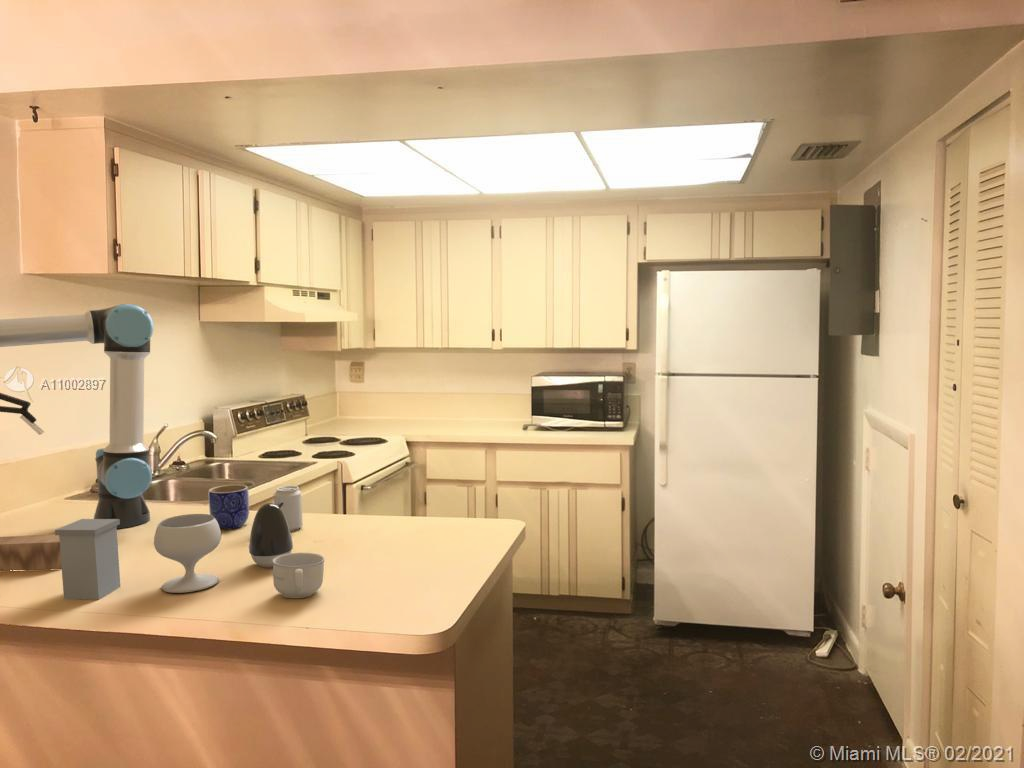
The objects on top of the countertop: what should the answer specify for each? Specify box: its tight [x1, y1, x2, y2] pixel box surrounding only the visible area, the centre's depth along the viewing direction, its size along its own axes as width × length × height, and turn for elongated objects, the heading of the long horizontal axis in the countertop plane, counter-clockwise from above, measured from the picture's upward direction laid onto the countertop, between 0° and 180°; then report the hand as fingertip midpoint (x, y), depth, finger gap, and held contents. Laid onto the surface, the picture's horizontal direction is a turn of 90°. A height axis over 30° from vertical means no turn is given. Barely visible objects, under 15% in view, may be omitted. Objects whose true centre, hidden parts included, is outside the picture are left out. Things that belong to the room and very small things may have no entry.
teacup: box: [272, 552, 325, 599], centre depth 168 cm, size 14×11×8 cm
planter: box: [207, 484, 250, 530], centre depth 226 cm, size 11×11×11 cm
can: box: [273, 485, 303, 532], centre depth 222 cm, size 8×8×12 cm
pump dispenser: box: [248, 502, 294, 568], centre depth 190 cm, size 10×10×15 cm
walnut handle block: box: [0, 534, 62, 571], centre depth 193 cm, size 16×7×18 cm
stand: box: [54, 518, 121, 600], centre depth 172 cm, size 9×9×16 cm
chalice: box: [153, 513, 222, 594], centre depth 176 cm, size 14×14×15 cm
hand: (20, 451), depth 202 cm, fingers open, 13 cm apart
